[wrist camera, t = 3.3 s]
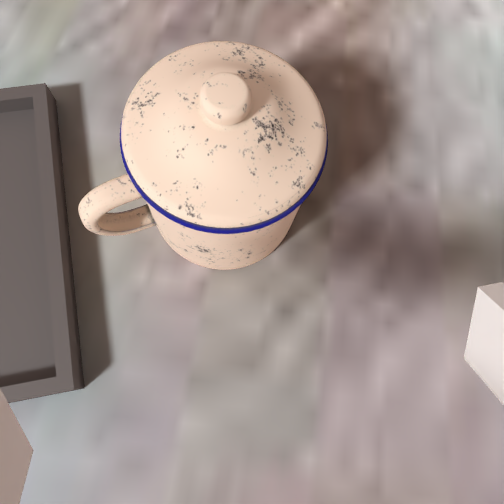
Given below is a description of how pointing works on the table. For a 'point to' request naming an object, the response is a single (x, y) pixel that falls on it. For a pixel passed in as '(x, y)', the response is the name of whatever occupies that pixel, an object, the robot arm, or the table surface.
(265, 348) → the table surface
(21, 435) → the robot arm
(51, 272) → the tea tray
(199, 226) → the teacup with lid
